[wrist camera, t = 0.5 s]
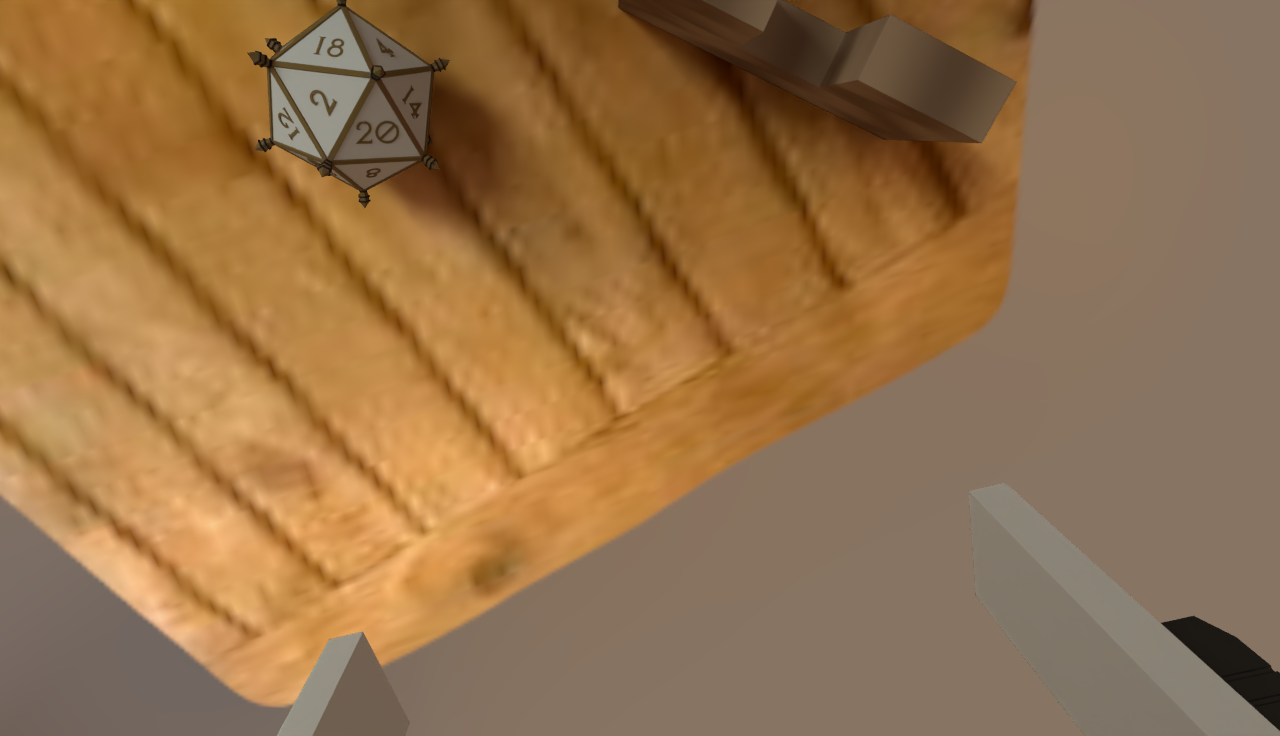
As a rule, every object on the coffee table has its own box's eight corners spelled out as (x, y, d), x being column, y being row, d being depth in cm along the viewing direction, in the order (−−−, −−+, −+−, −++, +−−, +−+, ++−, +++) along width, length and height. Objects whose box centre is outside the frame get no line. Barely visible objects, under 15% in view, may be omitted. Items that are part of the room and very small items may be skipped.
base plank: (618, 7, 33) (620, -41, 23) (637, -45, 32) (648, -117, 23) (884, 139, 36) (981, 143, 26) (907, 94, 35) (1016, 81, 25)
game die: (423, 81, 37) (492, 9, 29) (410, 228, 37) (476, 197, 29) (241, 20, 32) (264, -89, 24) (225, 191, 32) (243, 140, 24)
